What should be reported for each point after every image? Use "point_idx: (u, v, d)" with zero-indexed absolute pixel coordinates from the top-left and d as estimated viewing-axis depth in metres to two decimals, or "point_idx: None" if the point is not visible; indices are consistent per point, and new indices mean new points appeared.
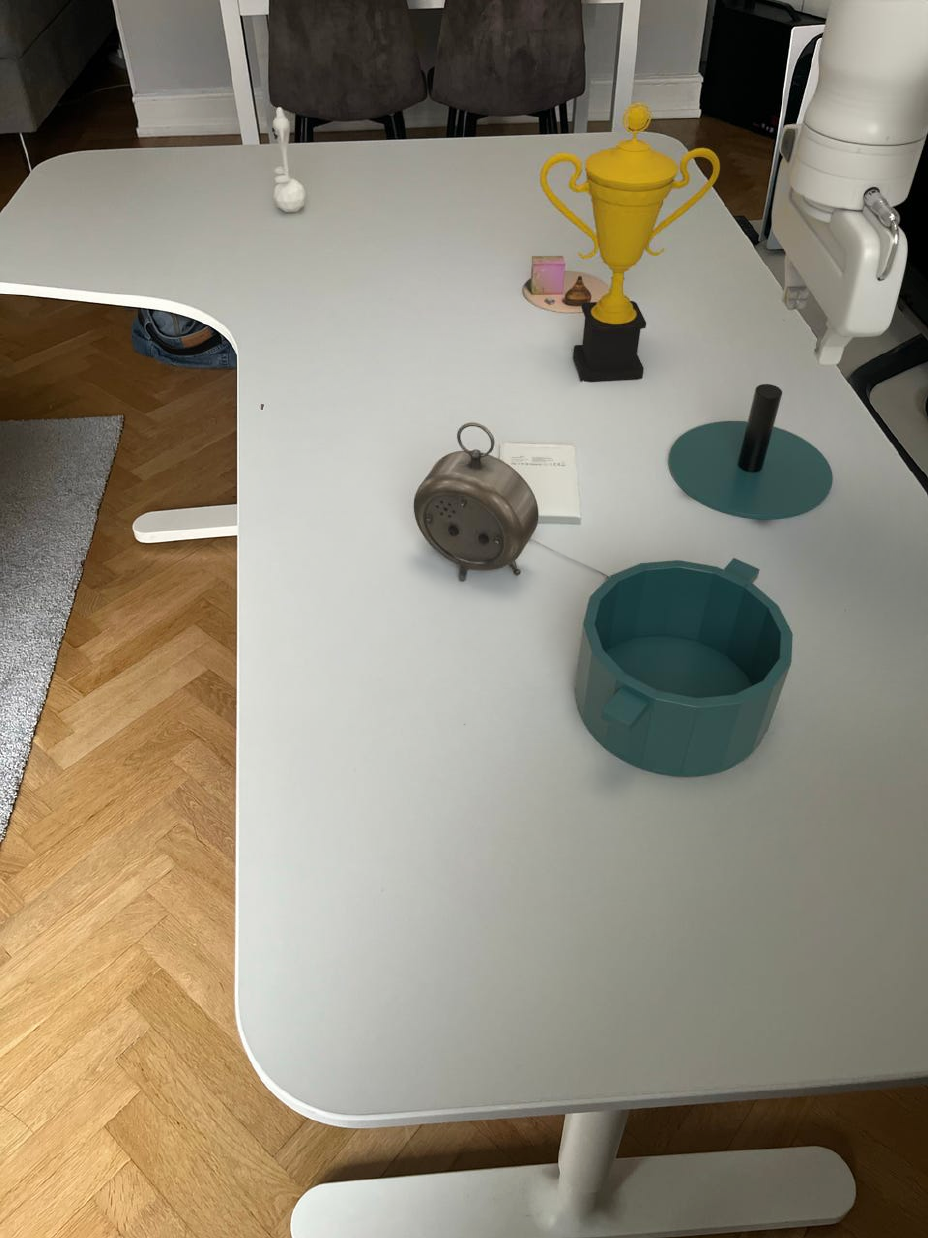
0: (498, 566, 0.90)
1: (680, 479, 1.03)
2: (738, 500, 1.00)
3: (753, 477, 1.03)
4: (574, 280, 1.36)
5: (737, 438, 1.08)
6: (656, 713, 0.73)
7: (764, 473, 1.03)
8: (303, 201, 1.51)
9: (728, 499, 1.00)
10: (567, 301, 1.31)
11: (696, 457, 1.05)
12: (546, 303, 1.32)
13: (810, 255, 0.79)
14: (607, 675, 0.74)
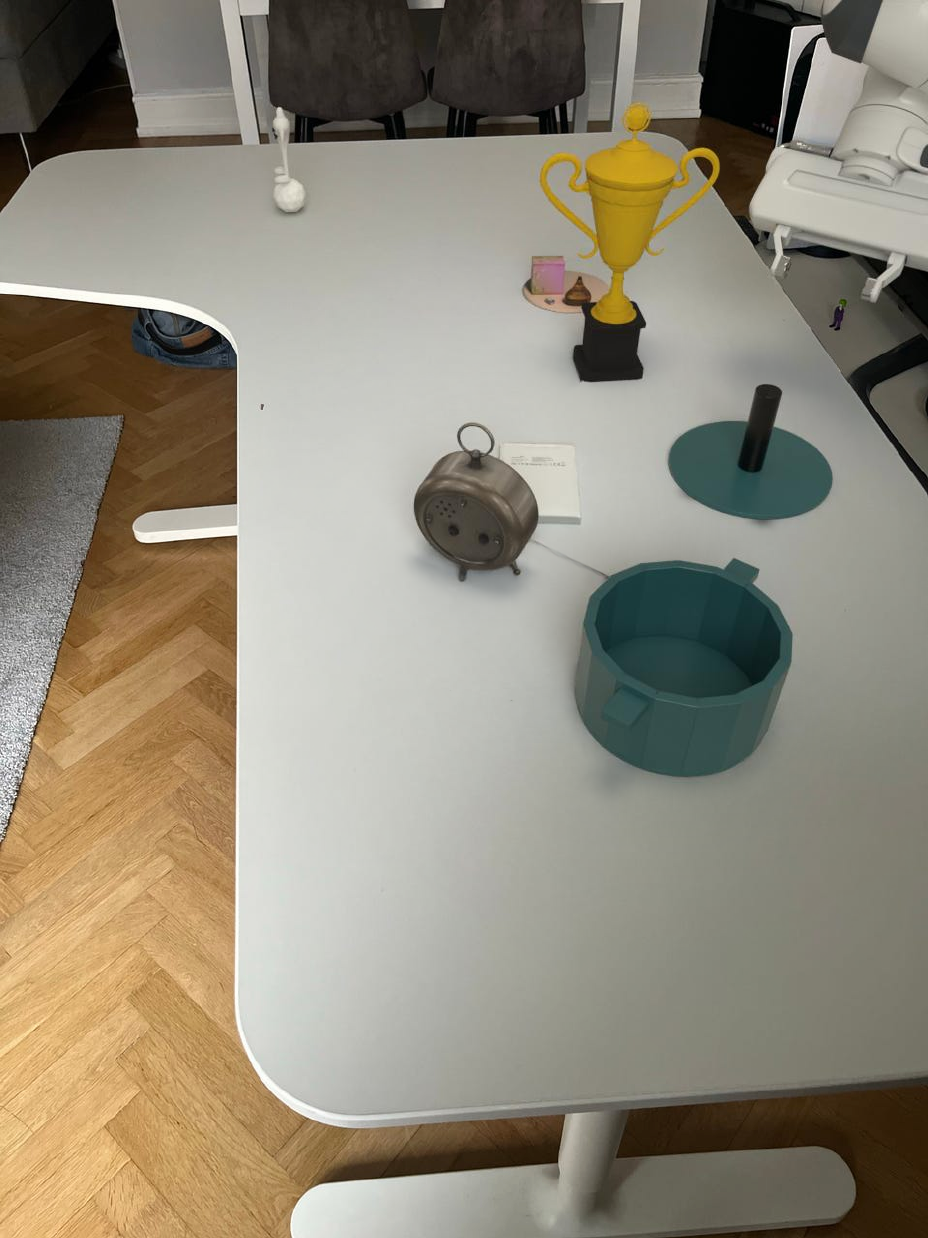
0: (498, 566, 0.90)
1: (680, 479, 1.03)
2: (738, 500, 1.00)
3: (753, 477, 1.03)
4: (574, 280, 1.36)
5: (737, 438, 1.08)
6: (656, 713, 0.73)
7: (764, 473, 1.03)
8: (303, 201, 1.51)
9: (728, 499, 1.00)
10: (567, 301, 1.31)
11: (696, 457, 1.05)
12: (546, 303, 1.32)
13: None
14: (607, 675, 0.74)
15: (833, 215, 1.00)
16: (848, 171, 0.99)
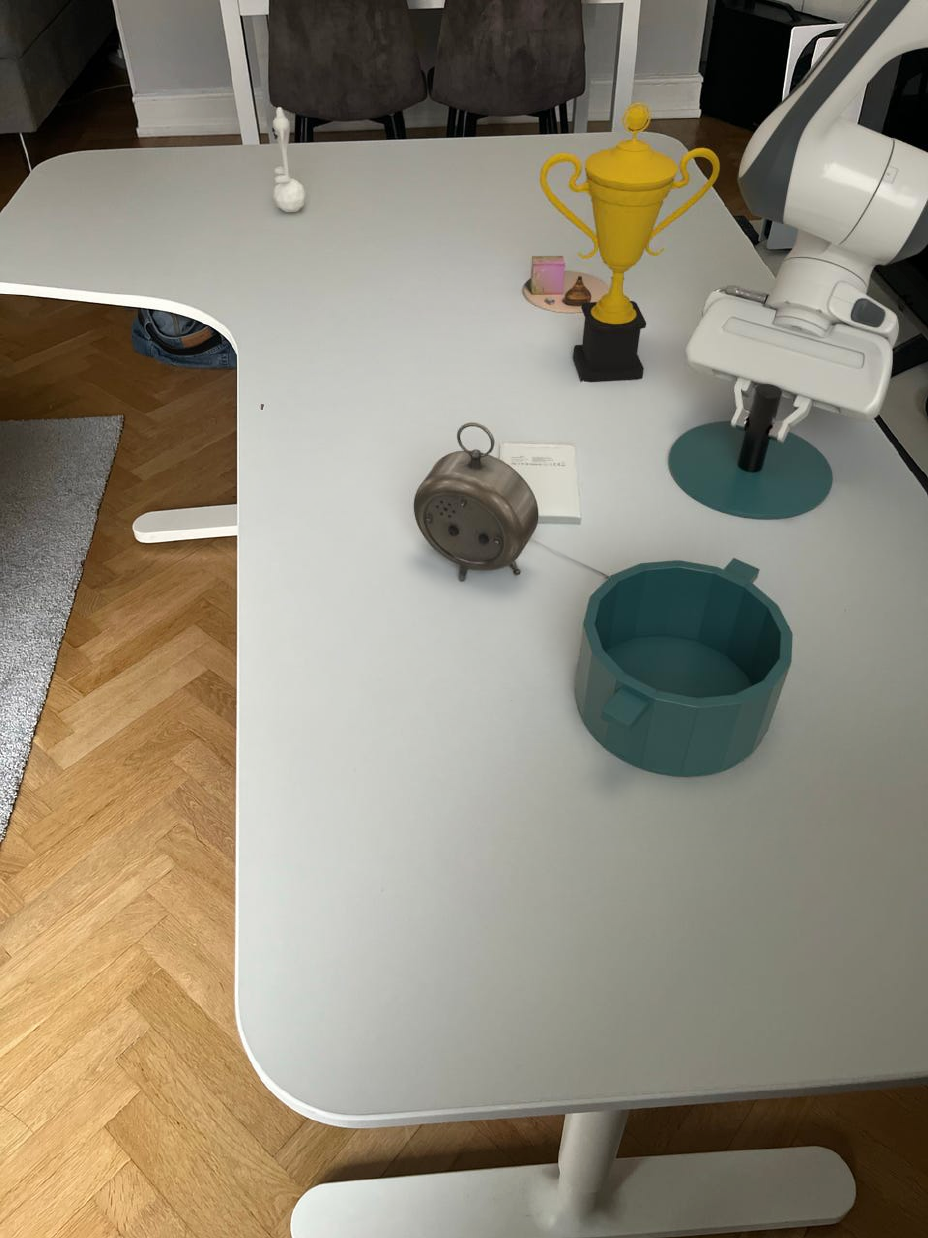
0: (498, 566, 0.90)
1: (680, 479, 1.03)
2: (738, 500, 1.00)
3: (753, 477, 1.03)
4: (574, 280, 1.36)
5: (737, 438, 1.08)
6: (656, 713, 0.73)
7: (764, 473, 1.03)
8: (303, 201, 1.51)
9: (728, 499, 1.00)
10: (567, 301, 1.31)
11: (696, 457, 1.05)
12: (546, 303, 1.32)
13: None
14: (607, 675, 0.74)
15: (767, 364, 1.00)
16: (781, 321, 0.99)
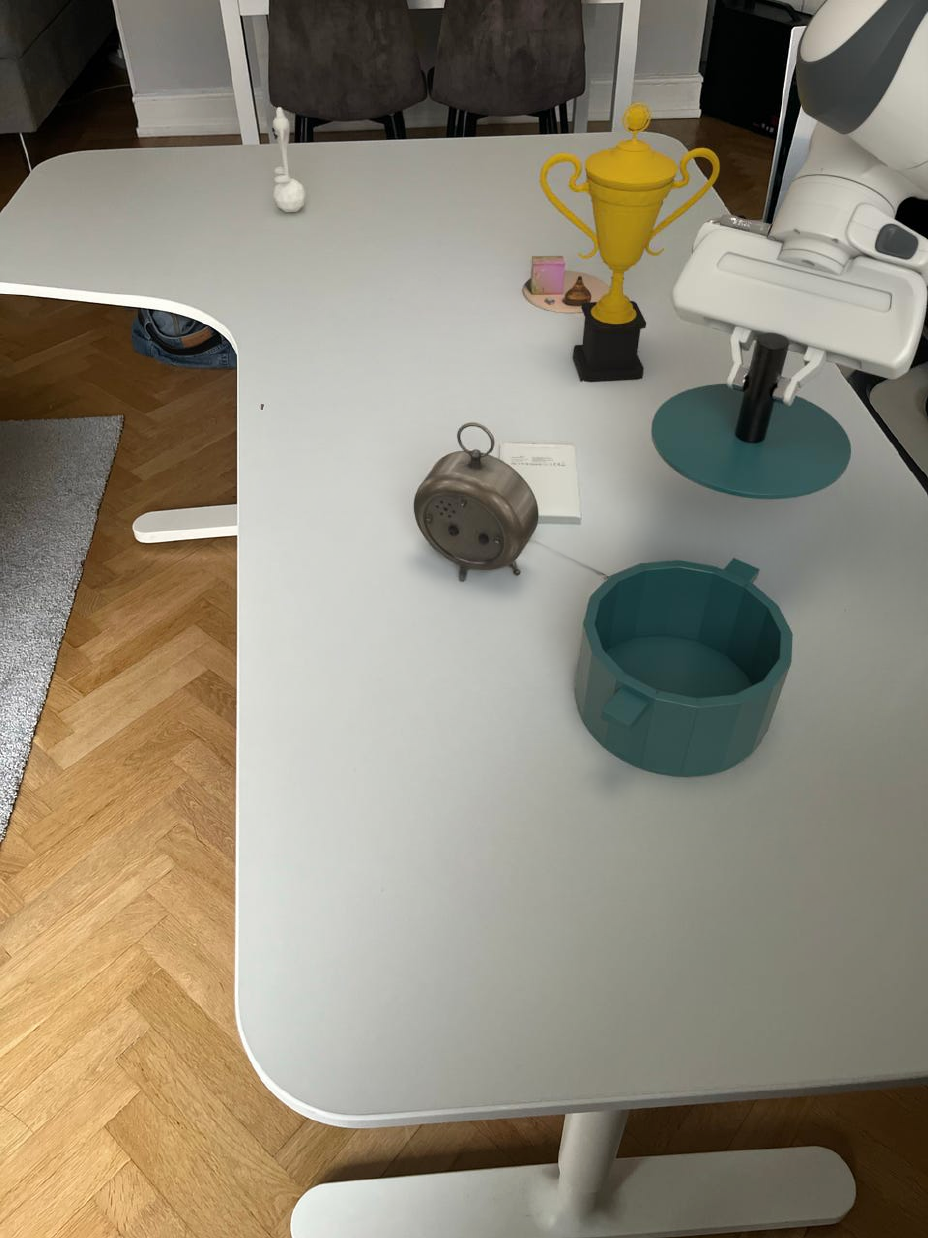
0: (498, 566, 0.90)
1: (664, 451, 0.84)
2: (735, 476, 0.82)
3: (754, 448, 0.84)
4: (574, 280, 1.36)
5: (735, 403, 0.89)
6: (656, 713, 0.73)
7: (767, 444, 0.85)
8: (303, 201, 1.51)
9: (722, 475, 0.82)
10: (567, 301, 1.31)
11: (685, 425, 0.87)
12: (546, 303, 1.32)
13: None
14: (607, 675, 0.74)
15: (771, 309, 0.81)
16: (788, 256, 0.80)
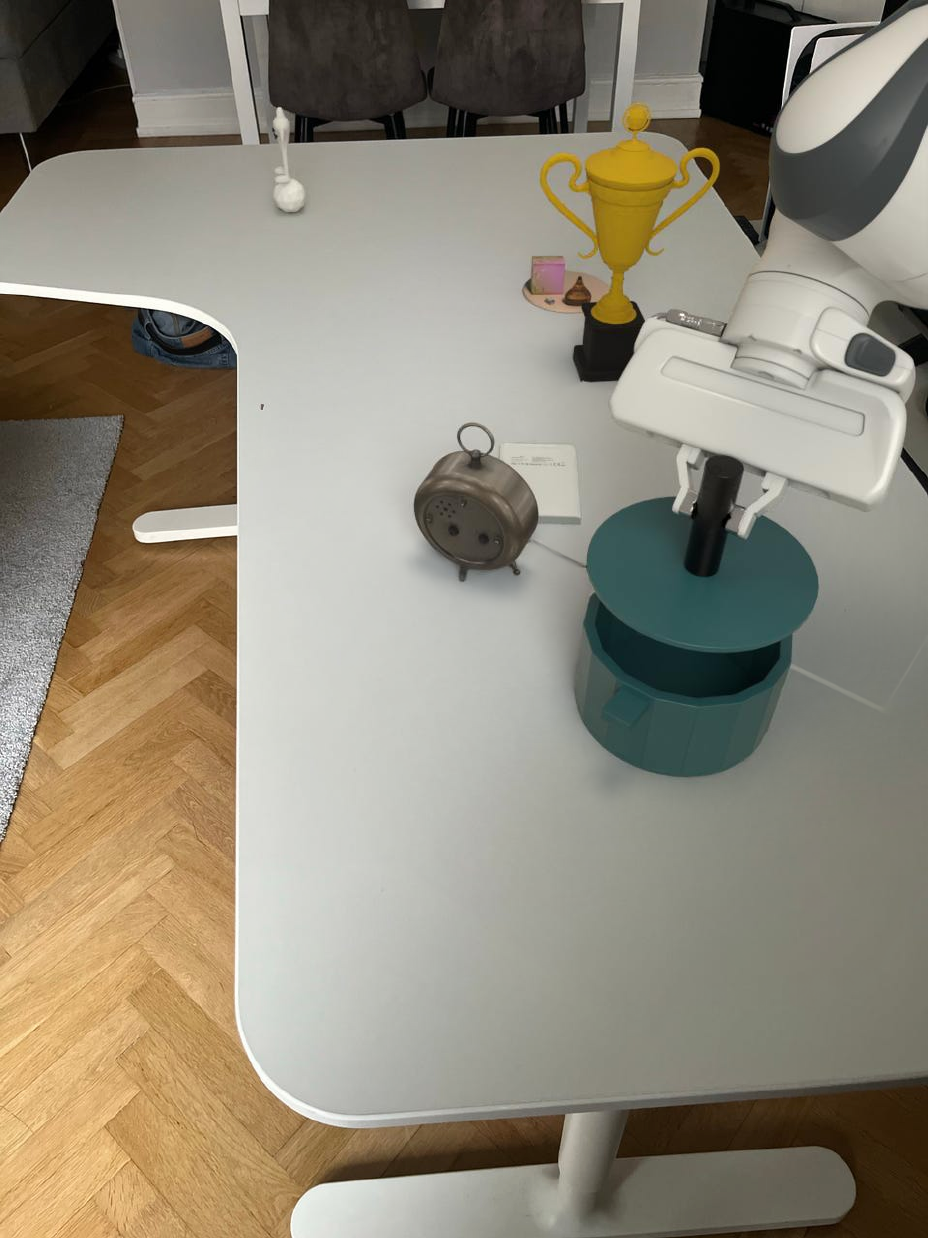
0: (498, 566, 0.90)
1: (600, 588, 0.72)
2: (681, 622, 0.69)
3: (705, 584, 0.72)
4: (574, 280, 1.36)
5: (686, 523, 0.77)
6: (656, 713, 0.73)
7: (721, 578, 0.72)
8: (303, 201, 1.51)
9: (666, 620, 0.69)
10: (567, 301, 1.31)
11: (626, 553, 0.74)
12: (546, 303, 1.32)
13: None
14: (607, 675, 0.74)
15: (723, 426, 0.68)
16: (743, 365, 0.68)
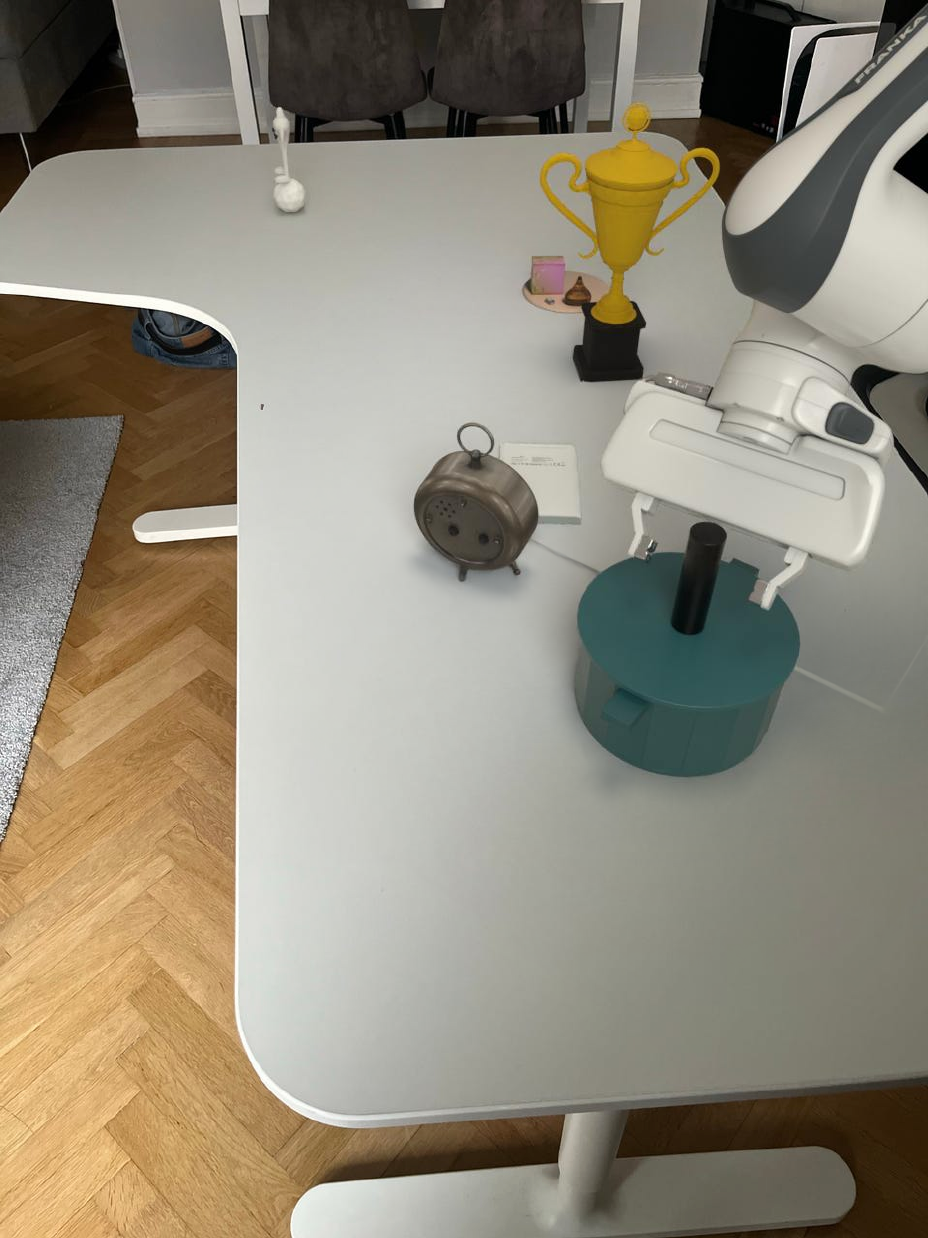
0: (498, 566, 0.90)
1: (590, 646, 0.74)
2: (667, 681, 0.72)
3: (691, 642, 0.75)
4: (574, 280, 1.36)
5: (673, 580, 0.80)
6: (656, 713, 0.73)
7: (706, 636, 0.75)
8: (303, 201, 1.51)
9: (653, 679, 0.72)
10: (567, 301, 1.31)
11: (615, 610, 0.77)
12: (546, 303, 1.32)
13: None
14: None
15: (709, 488, 0.71)
16: (728, 430, 0.70)
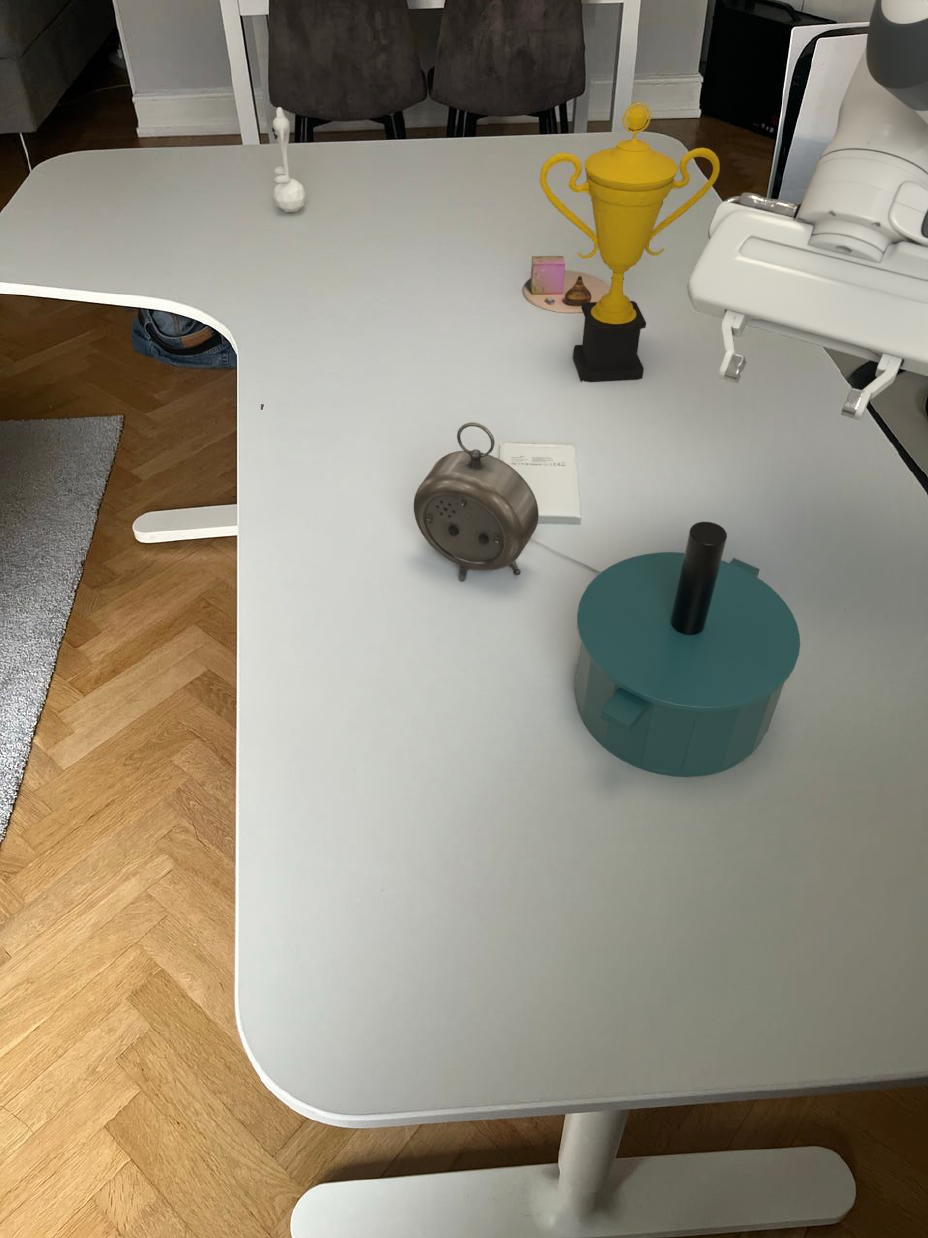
0: (498, 566, 0.90)
1: (590, 646, 0.74)
2: (667, 681, 0.72)
3: (691, 642, 0.75)
4: (574, 280, 1.36)
5: (673, 580, 0.80)
6: (656, 713, 0.73)
7: (706, 636, 0.75)
8: (303, 201, 1.51)
9: (653, 679, 0.72)
10: (567, 301, 1.31)
11: (615, 610, 0.77)
12: (546, 303, 1.32)
13: None
14: None
15: (802, 301, 0.72)
16: (822, 241, 0.71)
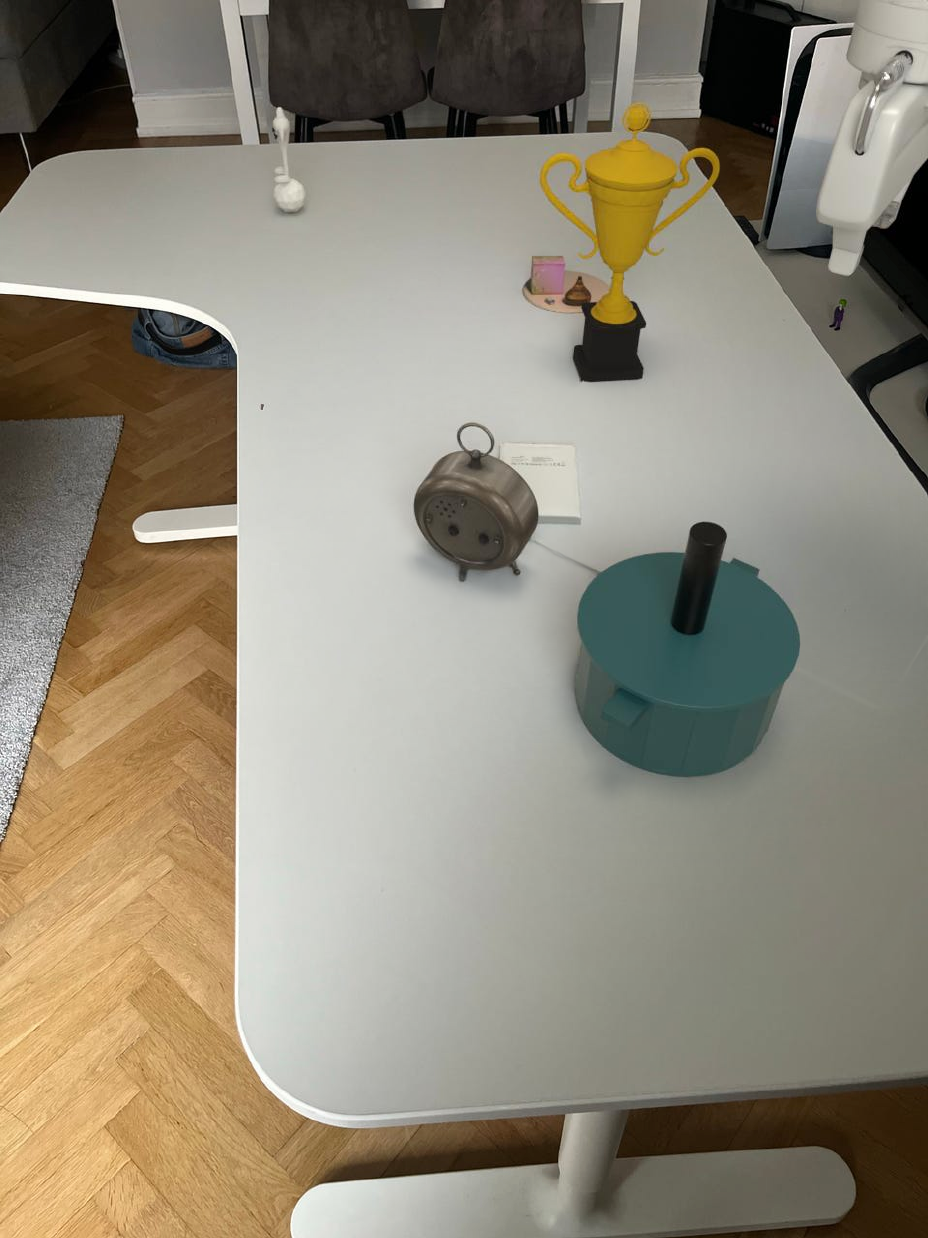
0: (498, 566, 0.90)
1: (590, 646, 0.74)
2: (667, 681, 0.72)
3: (691, 642, 0.75)
4: (574, 280, 1.36)
5: (673, 580, 0.80)
6: (656, 713, 0.73)
7: (706, 636, 0.75)
8: (303, 201, 1.51)
9: (653, 679, 0.72)
10: (567, 301, 1.31)
11: (615, 610, 0.77)
12: (546, 303, 1.32)
13: None
14: None
15: (909, 166, 0.67)
16: None
